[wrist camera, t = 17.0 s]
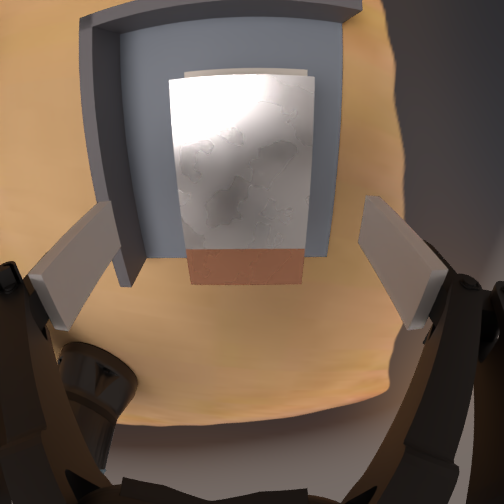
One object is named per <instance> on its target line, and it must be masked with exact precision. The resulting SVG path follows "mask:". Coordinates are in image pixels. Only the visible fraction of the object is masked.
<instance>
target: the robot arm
mask: <svg viewBox="0 0 504 504" xmlns="http://www.w3.org/2000/svg"><path fill="white" fill-rule="evenodd" d="M358 244H359V245H360V247H361V248H362V250H363V252H364V253H365V255H366V257H367V258H368V260H369V262H370V263H371V265H372V267H373V268H374V270H375V272H376V273H377V275H378V277H379V279H380V280H381V282H382V284H383V286H384V287H385V289H386V291H387V293H388V295H389V296H390V298H391V300H392V302H393V304H394V306H395V307H396V309H397V311H398V313H399V315H400V317H401V319H402V321H403V323H404V325H405V326H406V328H407V330H414V329H420V328H423V327H424V325H425V323H426V321H427V319H428V317H430V319H431V320H432V322H433V324H432V326H431V328H430V330H429V332H428V334H427V336H426V338H425V340H424V341H423V344H425V346H424V348H423V352H422V354H421V357H420V360H419V363H418V365H417V368H416V371H415V373H414V376H413V378H412V381H411V383H410V386H409V388H408V390H407V393H406V395H405V397H404V400H403V402H402V404H401V406H400V408H399V411H398V413H397V415H396V417H395V419H394V421H393V423H392V425H391V427H390V429H389V431H388V433H387V435H386V437H385V438H384V440H383V442H382V444H381V446H380V448H379V449H378V451H377V453H376V455H375V456H374V458H373V460H372V462H371V463H370V465H369V467H368V468H367V470H366V471H365V473H364V475H363V476H362V477H361V478H360V480H359V481H358V482H357V483H356V484H355V485H354V486H353V488H352V489H351V490H350V492H349V493H348V494H347V495H346V497H345V498H344V499H343V501H342V502H341V503H339V502H337V501H334V500H331V499H328V498H324V497H319V496H314V495H308V492H307V488H306V489H297V490H284V491H265V492H257V493H252V494H248V495H243V496H239V497H233V498H228V499H222V500H216V501H208V500H204V499H201V498H198V497H195V496H192V495H189V494H186V493H183V492H180V491H177V490H175V489H172V488H170V487H167V486H164V485H159V484H153V483H148V482H143V481H138V480H133V479H129V478H125V477H123V480H122V484H120V485H112V484H111V483H110V481H109V480H108V479H107V478H106V476H105V475H104V472H105V471H106V469H105V467H106V463H107V458H108V454H109V450H110V446H111V441H112V438H113V433H114V429H115V426H116V422H117V419H118V417H119V416H120V415H121V413H122V412H123V411H124V409H125V408H126V407H127V405H128V404H129V403H130V401H131V400H132V399H133V397H134V395H135V392H136V389H137V385H138V382H137V379H136V376H135V375H134V373H133V372H132V371H131V370H130V369H129V368H128V367H127V366H126V365H125V364H124V363H123V362H122V361H120V360H119V359H117V358H116V357H114V356H113V355H111V354H109V353H108V352H106V351H104V350H102V349H99V348H97V347H94V346H91V345H88V344H84V343H68V344H66V345H65V346H64V347H63V349H62V351H61V353H60V355H59V357H58V365H57V362H56V358H55V354H54V350H53V346H52V342H51V338H50V333H49V330H48V328H47V327H46V325H45V324H46V323H47V321H48V320H49V319H50V321H51V323H52V324H53V326H54V328H55V329H57V330H64V331H69V330H70V328H71V326H72V324H73V322H74V321H75V319H76V317H77V315H78V314H79V312H80V310H81V308H82V307H83V305H84V303H85V302H86V300H87V298H88V297H89V295H90V293H91V292H92V290H93V289H94V287H95V285H96V284H97V282H98V281H99V279H100V277H101V276H102V274H103V273H104V271H105V270H106V268H107V267H108V265H109V263H110V262H111V260H112V259H113V257H114V256H115V255H116V253H117V252H118V250H119V249H120V247H121V244H120V240H119V236H118V232H117V227H116V223H115V219H114V214H113V209H112V204H111V201H102V202H98V203H97V204H96V205H95V206H94V207H93V208H91V209H90V210H89V211H88V212H87V213H86V214H85V215H84V216H83V217H82V218H81V219H80V220H79V221H78V222H77V223H76V224H74V225H73V226H72V227H71V228H70V229H69V230H68V231H67V232H66V233H65V234H64V235H63V236H62V237H61V238H60V239H59V241H58V242H57V243H56V244H55V245H54V246H53V247H52V248H51V249H50V250H49V251H48V252H47V253H46V254H45V255H44V256H43V257H42V258H41V260H39V262H38V263H37V264H36V265H35V266H34V267H33V268H32V269H31V271H30V272H29V273H28V274H27V275H26V276H25V278H24V279H22V277H21V275H20V273H19V270H18V268H17V266H16V263H15V262H13V261H9V262H6V263H3V264H2V265H0V504H12V502H13V504H448V502H449V499H450V497H451V495H452V492H453V490H454V487H455V485H456V482H457V479H458V476H459V466H457V465H456V464H454V457H455V453H456V451H457V448H458V444H459V441H460V438H461V434H462V431H463V428H464V424H465V420H466V416H467V412H468V408H469V404H470V399H471V395H472V390H473V384H474V441H473V455H472V465H471V474H470V481H469V487H468V493H467V500H466V504H504V281H498V282H496V284H495V286H494V288H493V290H492V291H488V290H483V289H482V287H481V285H480V284H479V282H477V281H476V280H475V279H474V278H472V277H470V276H469V275H465V274H457V273H456V272H455V270H453V268H452V267H451V266H450V265H449V263H448V262H447V261H446V260H445V259H443V257H442V256H441V254H439V253H438V251H437V250H436V249H435V248H434V247H433V246H432V245H431V244H429V243H428V242H426V241H425V240H422V239H421V238H420V237H419V236H418V235H417V234H416V233H415V232H414V231H413V229H412V228H410V226H409V225H408V224H407V223H406V222H405V221H404V220H403V219H402V218H401V217H400V216H399V215H398V214H397V213H396V212H395V211H394V210H393V209H392V208H391V207H390V206H389V205H388V204H387V203H386V202H385V201H383V200H382V199H381V198H380V197H379V196H366V198H365V204H364V211H363V217H362V223H361V229H360V234H359V240H358ZM498 335H499V338H497V337H498Z"/></svg>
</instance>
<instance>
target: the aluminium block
mask: <svg viewBox="0 0 504 504" xmlns="http://www.w3.org/2000/svg"><path fill="white" fill-rule="evenodd" d="M169 85H170V104H171V120H172V133H173V146H174V157H175V167H176V177H177V186H178V195H179V203H180V212H181V219H182V227H183V234H184V241H185V248H186V255H187V261H188V268H189V274H190V280H191V284H196V285H270V284H301V282H302V273H303V264H304V254H305V244H306V233H307V222H308V210H309V197H310V183H311V167H312V148H313V126H314V92H315V77H312V76H297V75H271V74H246V75H220V76H205V77H194V78H184V79H175V80H169Z"/></svg>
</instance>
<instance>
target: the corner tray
mask: <svg viewBox="0 0 504 504" xmlns="http://www.w3.org/2000/svg"><path fill="white" fill-rule="evenodd" d="M361 11H362V0H135V1H131V2H128V3H124V4H121V5H117V6H114V7H111V8H107V9H104V10H101V11H98V12H95V13H93V14H90V15H87V16H85V17H82V18H80V22H79V73H80V91H81V104H82V114H83V123H84V131H85V139H86V146H87V152H88V159H89V165H90V170H91V176H92V181H93V186H94V191H95V196H96V200H97V203H98V202H102V201H111V204H112V209H113V214H114V219H115V223H116V227H117V232H118V236H119V240H120V244H121V247H120V249H119V250H118V252H117V253H116V255H115V256H114V257H113V259H112V262H113V265H114V268H115V271H116V275H117V278H118V281H119V284H120V287H132V285H133V283H134V281H135V279H136V278H137V276H138V274H139V272H140V270H141V268H142V266H143V264H144V262H145V260H146V258H187V255H186V248H185V241H184V234H183V227H182V219H181V212H180V203H179V195H178V186H177V177H176V167H175V157H174V146H173V133H172V120H171V104H170V85H169V80H175V79H184V78H194V77H205V76H220V75H246V74H271V75H297V76H312V77H315V92H314V126H313V148H312V167H311V183H310V197H309V210H308V222H307V233H306V244H305V254H304V257H327V251H328V244H329V237H330V230H331V222H332V214H333V205H334V196H335V187H336V176H337V165H338V153H339V140H340V124H341V103H342V63H343V45H342V23H344V22H345V21H347V20H348V19H350V18H351V17H353V16H354V15H356V14H358V13H359V12H361Z"/></svg>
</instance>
